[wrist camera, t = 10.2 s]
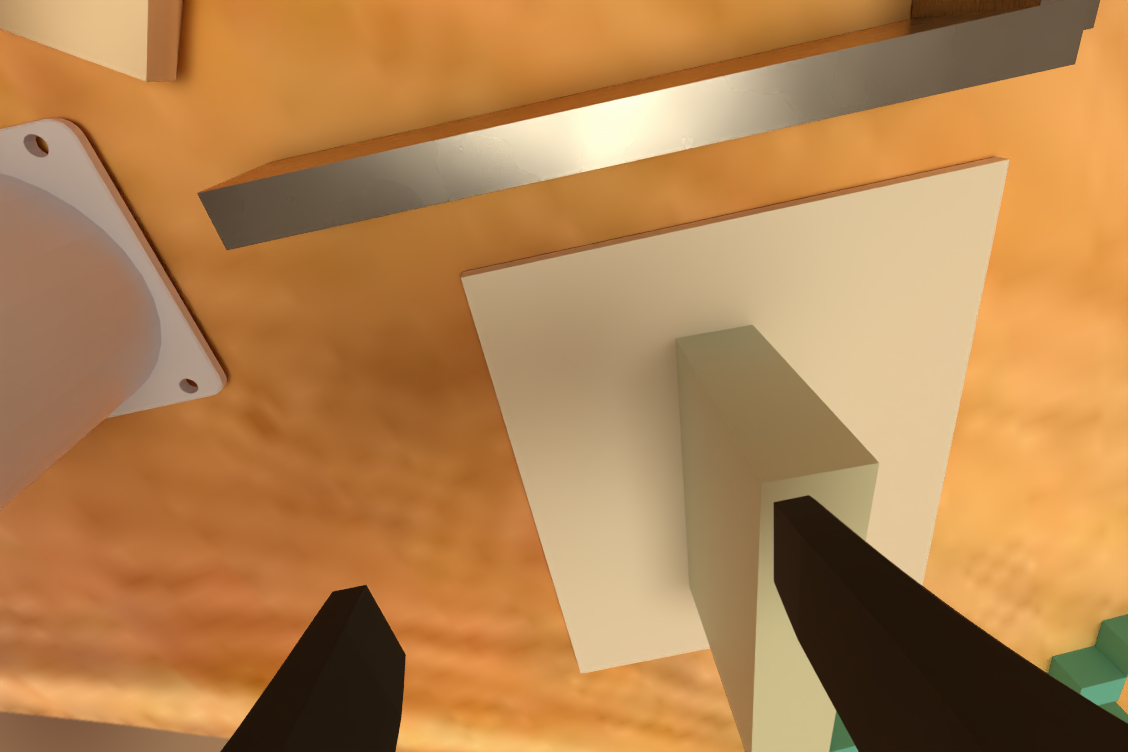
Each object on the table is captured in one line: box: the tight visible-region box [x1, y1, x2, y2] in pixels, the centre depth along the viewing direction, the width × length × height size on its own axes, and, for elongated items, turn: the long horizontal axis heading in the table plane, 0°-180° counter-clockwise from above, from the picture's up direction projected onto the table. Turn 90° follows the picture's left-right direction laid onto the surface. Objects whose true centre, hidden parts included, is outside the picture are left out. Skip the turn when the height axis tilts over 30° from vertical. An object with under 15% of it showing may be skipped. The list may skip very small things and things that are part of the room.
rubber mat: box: [461, 157, 1010, 674], centre depth 21 cm, size 16×20×1 cm
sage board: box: [675, 325, 879, 752], centre depth 18 cm, size 2×12×7 cm, turn 9°
